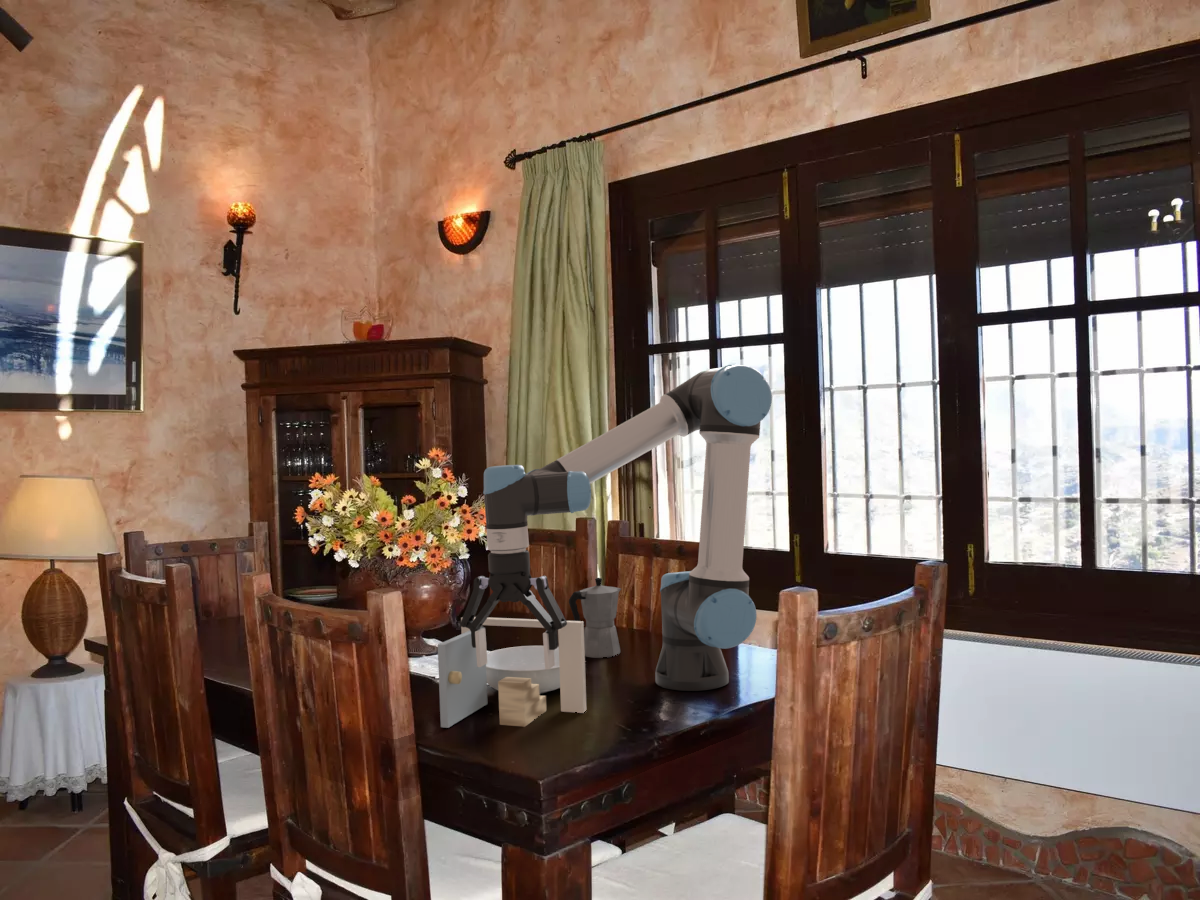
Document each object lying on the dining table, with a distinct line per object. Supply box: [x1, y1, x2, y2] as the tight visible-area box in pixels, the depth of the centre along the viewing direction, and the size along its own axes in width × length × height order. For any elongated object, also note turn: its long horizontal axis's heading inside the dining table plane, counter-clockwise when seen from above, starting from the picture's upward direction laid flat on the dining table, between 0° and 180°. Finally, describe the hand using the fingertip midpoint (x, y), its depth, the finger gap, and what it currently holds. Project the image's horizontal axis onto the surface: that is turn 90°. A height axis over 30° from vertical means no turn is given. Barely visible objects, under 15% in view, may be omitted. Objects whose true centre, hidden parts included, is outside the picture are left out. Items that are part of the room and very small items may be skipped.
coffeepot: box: [568, 577, 622, 659], centre depth 230 cm, size 15×9×18 cm, turn 129°
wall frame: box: [460, 616, 587, 714], centre depth 188 cm, size 25×2×17 cm, turn 70°
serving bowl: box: [486, 645, 560, 695], centre depth 201 cm, size 21×21×7 cm
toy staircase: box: [497, 677, 547, 728], centre depth 181 cm, size 10×5×8 cm, turn 160°
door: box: [437, 626, 488, 729], centre depth 183 cm, size 16×3×15 cm, turn 160°
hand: (515, 666), depth 178 cm, fingers open, 13 cm apart
